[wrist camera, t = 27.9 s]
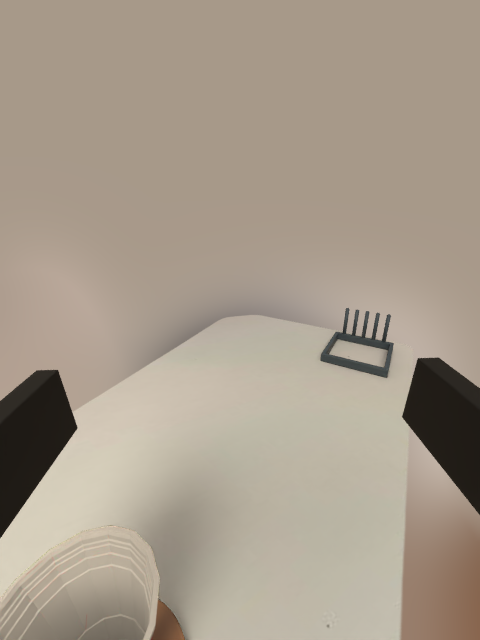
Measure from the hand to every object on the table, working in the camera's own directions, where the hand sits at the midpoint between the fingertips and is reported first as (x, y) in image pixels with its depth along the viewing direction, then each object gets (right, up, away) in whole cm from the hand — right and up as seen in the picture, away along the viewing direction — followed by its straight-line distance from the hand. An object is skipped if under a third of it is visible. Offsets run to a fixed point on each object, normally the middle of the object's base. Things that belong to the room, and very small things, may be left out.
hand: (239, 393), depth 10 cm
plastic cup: (-10, -26, +10) cm, 30 cm away
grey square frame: (+29, -6, +56) cm, 63 cm away
